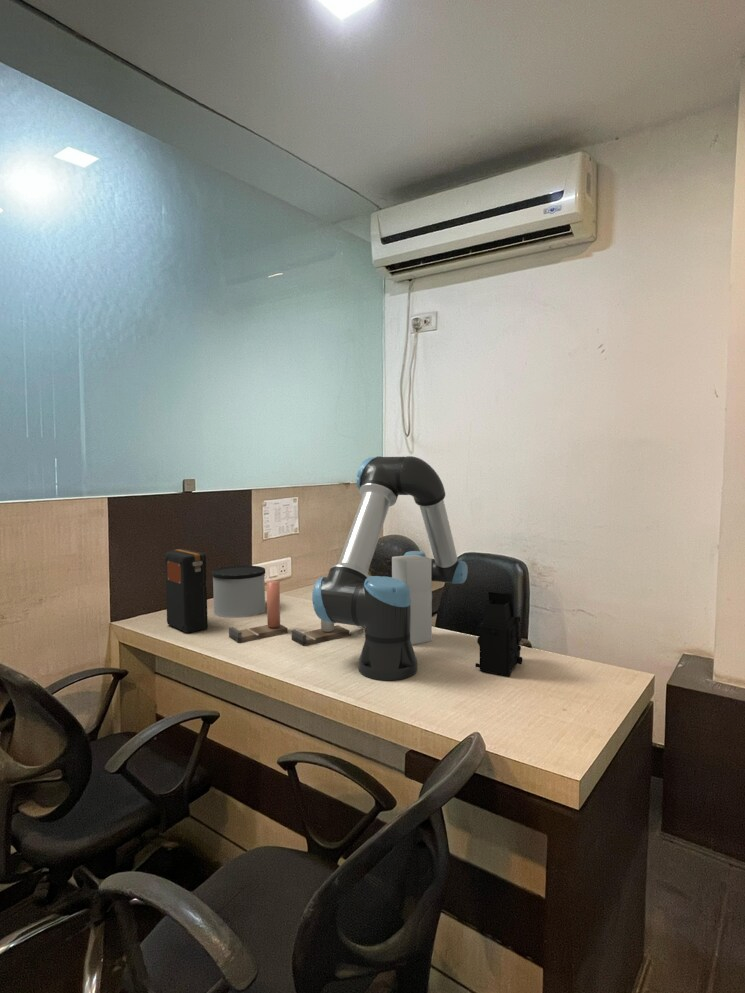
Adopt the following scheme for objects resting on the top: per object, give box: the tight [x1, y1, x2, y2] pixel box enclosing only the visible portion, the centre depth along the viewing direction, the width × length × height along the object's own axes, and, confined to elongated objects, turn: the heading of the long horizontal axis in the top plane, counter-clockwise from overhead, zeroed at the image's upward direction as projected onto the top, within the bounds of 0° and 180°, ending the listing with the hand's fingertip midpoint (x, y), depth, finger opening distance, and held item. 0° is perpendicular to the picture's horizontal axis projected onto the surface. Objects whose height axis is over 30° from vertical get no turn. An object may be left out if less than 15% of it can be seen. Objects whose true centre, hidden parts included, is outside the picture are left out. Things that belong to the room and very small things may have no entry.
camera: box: [474, 589, 524, 677], centre depth 143 cm, size 10×14×20 cm
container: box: [211, 565, 266, 619], centre depth 201 cm, size 19×19×15 cm
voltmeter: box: [164, 548, 209, 634], centre depth 180 cm, size 16×9×25 cm, turn 45°
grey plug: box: [320, 619, 335, 632], centre depth 170 cm, size 4×4×14 cm
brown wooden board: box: [290, 625, 351, 647], centre depth 169 cm, size 16×9×3 cm, turn 126°
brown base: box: [228, 623, 289, 644], centre depth 172 cm, size 16×9×3 cm, turn 126°
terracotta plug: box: [266, 580, 281, 627], centre depth 175 cm, size 4×4×14 cm
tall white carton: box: [391, 554, 433, 646], centre depth 166 cm, size 9×9×25 cm
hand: (332, 612), depth 172 cm, fingers closed
